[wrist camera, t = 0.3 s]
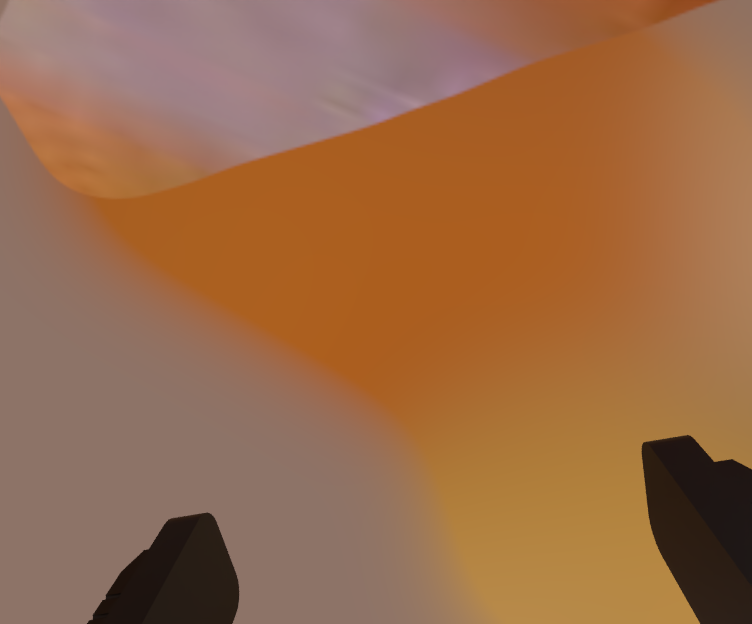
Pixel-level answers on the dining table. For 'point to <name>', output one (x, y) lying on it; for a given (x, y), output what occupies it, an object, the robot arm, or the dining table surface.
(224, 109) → the dining table surface
